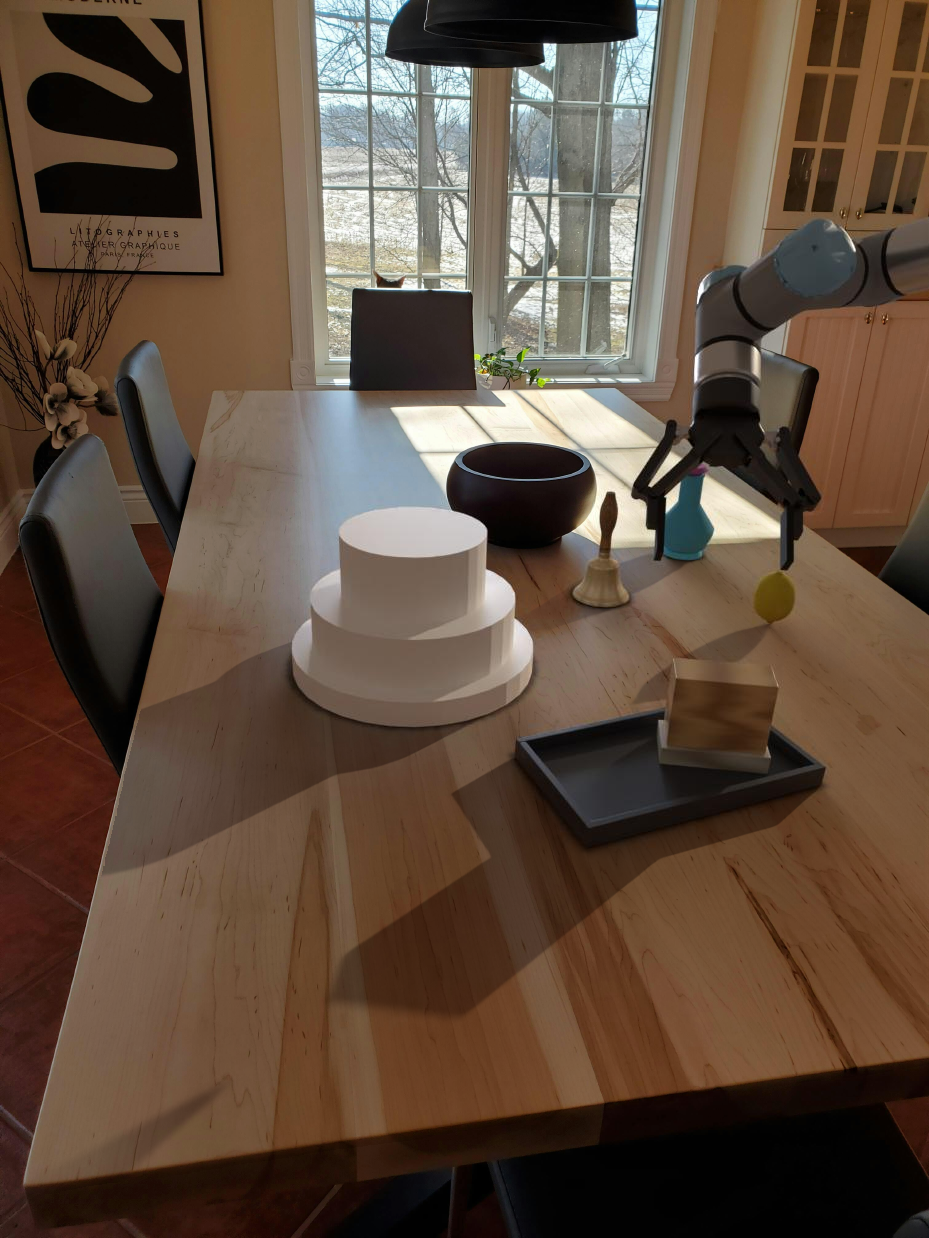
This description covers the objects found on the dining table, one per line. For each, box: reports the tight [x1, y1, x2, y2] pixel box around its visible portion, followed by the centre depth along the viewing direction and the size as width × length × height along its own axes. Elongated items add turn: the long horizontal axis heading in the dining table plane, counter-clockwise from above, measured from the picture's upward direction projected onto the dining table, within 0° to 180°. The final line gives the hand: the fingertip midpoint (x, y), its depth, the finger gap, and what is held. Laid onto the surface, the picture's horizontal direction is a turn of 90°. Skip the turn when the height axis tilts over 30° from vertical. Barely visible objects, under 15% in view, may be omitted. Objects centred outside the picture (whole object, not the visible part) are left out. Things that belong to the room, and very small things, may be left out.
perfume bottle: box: [663, 463, 715, 561], centre depth 147 cm, size 9×9×15 cm
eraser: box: [656, 657, 780, 774], centre depth 93 cm, size 11×6×10 cm, turn 82°
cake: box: [291, 506, 534, 728], centre depth 110 cm, size 30×30×18 cm
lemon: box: [752, 570, 797, 625], centre depth 125 cm, size 6×6×8 cm
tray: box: [514, 706, 827, 849], centre depth 93 cm, size 16×28×2 cm, turn 112°
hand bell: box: [572, 490, 630, 608], centre depth 130 cm, size 8×8×16 cm
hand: (722, 561), depth 97 cm, fingers open, 13 cm apart
